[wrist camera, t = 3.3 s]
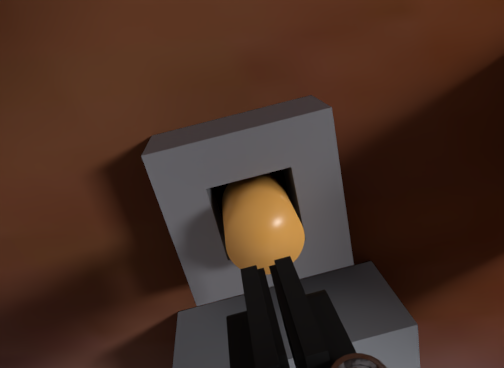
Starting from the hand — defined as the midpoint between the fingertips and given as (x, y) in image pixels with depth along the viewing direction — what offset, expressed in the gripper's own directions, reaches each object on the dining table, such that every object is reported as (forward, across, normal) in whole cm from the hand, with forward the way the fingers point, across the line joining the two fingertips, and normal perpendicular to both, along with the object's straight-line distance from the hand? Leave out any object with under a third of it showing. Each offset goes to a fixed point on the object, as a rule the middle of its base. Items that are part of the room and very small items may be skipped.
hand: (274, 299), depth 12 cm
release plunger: (+6, 0, -1) cm, 6 cm away
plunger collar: (+7, 0, -1) cm, 7 cm away
